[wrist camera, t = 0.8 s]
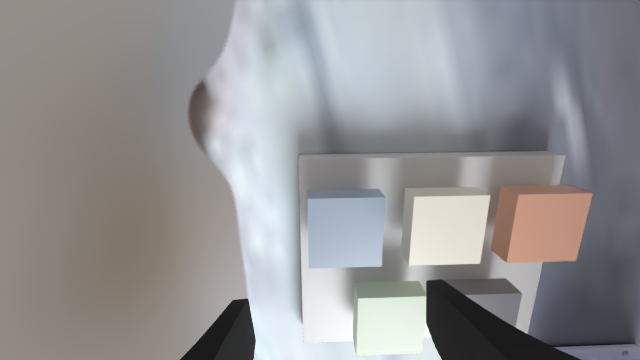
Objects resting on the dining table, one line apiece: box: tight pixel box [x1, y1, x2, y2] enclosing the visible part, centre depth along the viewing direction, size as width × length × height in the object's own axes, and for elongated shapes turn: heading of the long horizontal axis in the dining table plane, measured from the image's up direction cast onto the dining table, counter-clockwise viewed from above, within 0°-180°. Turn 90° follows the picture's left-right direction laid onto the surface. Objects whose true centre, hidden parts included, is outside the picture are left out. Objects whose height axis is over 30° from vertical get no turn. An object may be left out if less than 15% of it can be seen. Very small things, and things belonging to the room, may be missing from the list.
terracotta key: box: [491, 185, 593, 263], centre depth 17 cm, size 4×4×2 cm
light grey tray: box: [298, 151, 566, 343], centre depth 20 cm, size 16×13×2 cm
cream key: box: [401, 187, 490, 266], centre depth 17 cm, size 4×4×2 cm
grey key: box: [444, 278, 522, 327], centre depth 19 cm, size 4×4×2 cm
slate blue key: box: [307, 189, 385, 268], centre depth 17 cm, size 4×4×2 cm
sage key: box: [353, 281, 426, 356], centre depth 18 cm, size 4×4×2 cm
